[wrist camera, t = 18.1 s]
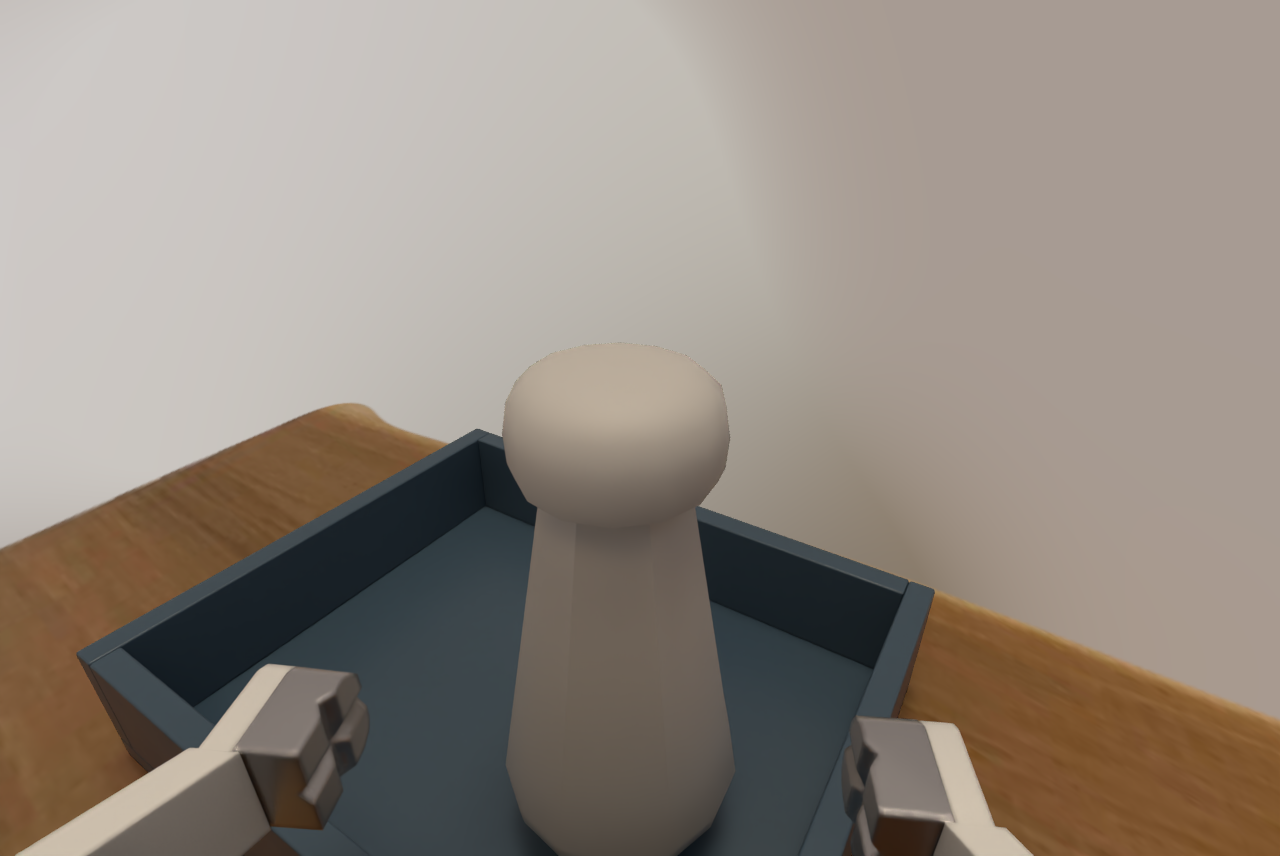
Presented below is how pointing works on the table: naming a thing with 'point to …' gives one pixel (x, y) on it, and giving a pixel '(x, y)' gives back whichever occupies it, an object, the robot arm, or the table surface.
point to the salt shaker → (617, 602)
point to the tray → (508, 663)
